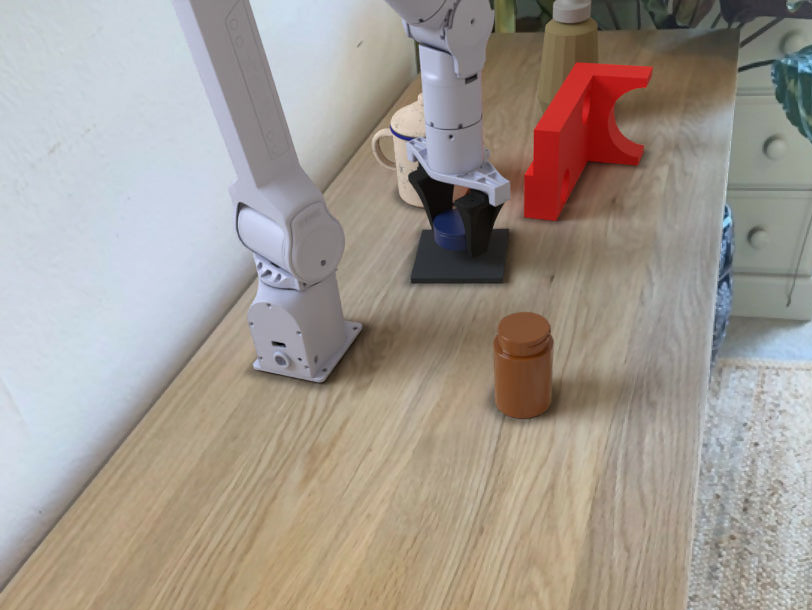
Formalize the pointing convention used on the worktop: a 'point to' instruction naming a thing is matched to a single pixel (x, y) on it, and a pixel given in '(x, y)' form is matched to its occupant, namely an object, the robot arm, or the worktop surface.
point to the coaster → (460, 261)
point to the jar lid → (450, 230)
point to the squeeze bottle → (566, 46)
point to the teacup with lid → (404, 129)
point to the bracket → (579, 134)
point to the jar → (523, 365)
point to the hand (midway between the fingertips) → (460, 242)
